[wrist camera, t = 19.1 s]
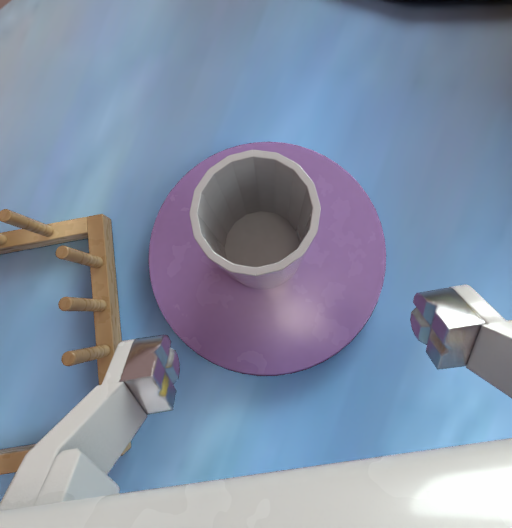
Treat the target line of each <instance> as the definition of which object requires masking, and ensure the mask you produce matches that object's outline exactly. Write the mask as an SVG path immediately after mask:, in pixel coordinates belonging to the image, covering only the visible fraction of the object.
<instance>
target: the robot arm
mask: <svg viewBox="0 0 512 528" xmlns="http://www.w3.org/2000/svg"><path fill="white" fill-rule="evenodd" d="M413 303H414V304H415V306H416V308H415V309H414V310H413V311H412V312H411V319H410V321H411V326H412V330H413V332H414V334H415V336H416V338H417V339H418V341H420V342H422V343H424V344H425V345H427V348H426V353H427V355H428V356H429V358H430V359H431V361H432V362H433V364H434V365H435V367H436V368H437V370H438V369H446V368H454V367H462V366H466V368H468V369H469V370H471V371H472V372H474V373H475V374H477V375H478V376H480V377H481V378H482V379H484V380H485V381H487V382H488V383H490V384H491V385H493V386H494V387H496V388H497V389H499V390H500V391H502V392H503V393H505V394H506V395H508V396H509V397H511V398H512V320H508V321H506V320H505V319H504V318H503V317H502V316H501V315H500V314H499V313H498V312H497V311H496V310H495V309H493V308H492V307H491V306H490V305H489V304H488V303H487V302H486V301H485V300H484V299H483V298H482V297H481V296H480V295H479V294H478V293H477V292H476V291H475V290H474V289H473V288H472V287H470V286H468V285H466V284H465V285H460V286H454V287H449V288H443V289H437V290H431V291H425V292H420V293H416V295H415V296H414V300H413ZM170 345H171V341H170V339H169V337H168V335H159V336H152V337H145V338H138V339H133V340H125V341H121V342H120V343H119V344H118V345H117V348H116V350H115V353H114V355H113V358H112V360H111V362H110V365H109V367H108V370H107V372H106V375H105V377H104V380H103V382H102V385H98V386H96V387H95V388H94V389H93V390H92V391H91V392H90V393H89V394H88V395H87V396H86V397H85V398H84V399H83V400H82V401H81V402H80V403H78V404H77V405H76V406H75V407H74V408H73V409H72V410H71V411H70V412H69V413H68V414H67V415H66V416H65V417H64V418H63V419H62V420H61V421H60V422H59V423H58V424H57V425H56V426H55V427H54V428H53V429H52V430H50V431H49V432H48V433H47V434H46V435H45V436H44V437H43V438H42V439H41V440H40V441H39V442H38V443H37V444H36V445H35V446H34V447H33V448H32V449H31V450H30V451H29V452H28V453H27V454H26V455H25V457H24V459H23V460H22V462H21V464H20V466H19V468H18V470H17V472H16V474H15V476H14V478H13V480H12V481H11V483H10V485H9V487H8V489H7V491H6V493H5V495H4V497H3V499H2V501H1V502H0V528H512V438H508V439H501V440H494V441H487V442H480V443H473V444H466V445H459V446H452V447H445V448H438V449H431V450H423V451H416V452H409V453H402V454H395V455H388V456H381V457H374V458H367V459H360V460H353V461H346V462H339V463H332V464H324V465H317V466H310V467H303V468H296V469H289V470H282V471H275V472H268V473H261V474H254V475H247V476H240V477H233V478H226V479H219V480H212V481H205V482H197V483H190V484H183V485H176V486H169V487H162V488H155V489H148V490H141V491H134V492H127V493H120V494H119V491H120V488H119V486H118V484H117V483H115V482H114V481H113V480H112V479H111V478H110V477H109V476H108V475H107V474H108V473H109V472H110V470H111V469H112V467H113V466H114V464H115V463H116V461H117V460H118V458H119V457H120V456H121V454H122V453H123V451H124V450H125V448H126V447H127V445H128V444H129V442H130V441H131V440H132V438H133V437H134V435H135V434H136V432H137V431H138V429H139V428H140V427H141V425H142V424H143V422H144V421H145V419H146V418H147V415H149V414H154V413H160V412H165V411H171V410H173V408H174V402H175V396H176V389H175V387H174V383H175V382H176V381H177V380H178V379H179V372H180V365H179V358H178V355H177V353H176V351H175V350H174V349H172V348H170Z"/></svg>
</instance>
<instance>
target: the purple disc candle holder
mask: <svg viewBox="0 0 512 528" xmlns="http://www.w3.org/2000/svg"><path fill="white" fill-rule="evenodd" d="M249 150H261V151H269V152H276V153H279V154H281V155H283V156H284V157H286V158H288V159H290V160H292V161H294V162H295V163H297V164H299V165H300V166H301V168H302V169H303V170H304V171H305V173H306V174H307V175H308V176H309V177H310V179H311V180H312V181H313V182H314V184H315V187H316V191H317V195H318V198H319V202H320V205H321V212H320V219H319V225H318V232H317V234H316V236H315V238H314V240H313V242H312V244H311V246H310V248H309V250H308V252H307V254H306V256H305V258H304V260H303V262H302V263H301V265H300V267H299V268H298V270H297V272H296V273H295V275H294V276H293V277H292V278H291V279H289V280H288V281H287V282H286V283H284V284H282V285H280V286H278V287H275V288H272V289H266V290H259V289H253V288H249V287H246V286H244V285H242V284H240V283H239V282H238V281H236V280H234V279H233V278H232V277H230V276H229V275H228V274H227V273H226V272H224V271H223V270H222V269H221V268H220V267H218V266H217V265H216V264H215V263H213V262H212V261H211V260H210V259H209V258H208V257H207V256H206V254H205V253H204V252H203V250H202V249H201V247H200V246H199V244H198V243H197V241H196V240H195V238H194V235H193V230H192V225H191V220H190V215H189V214H190V208H191V203H192V199H193V194H194V190H195V188H196V187H197V185H198V184H199V182H200V181H201V179H202V178H203V176H204V175H205V173H206V172H207V170H209V169H210V168H211V167H212V166H214V165H215V164H217V163H218V162H220V161H221V160H223V159H224V158H226V157H227V156H229V155H232V154H236V153H240V152H245V151H249ZM385 269H386V248H385V239H384V234H383V230H382V226H381V222H380V220H379V217H378V215H377V212H376V209H375V208H374V206H373V204H372V202H371V200H370V198H369V197H368V195H367V194H366V192H365V191H364V190H363V188H362V187H361V186H360V184H359V183H358V182H357V181H356V180H355V179H354V178H353V177H352V176H351V175H350V174H349V173H348V172H347V171H346V170H344V169H343V168H342V167H341V166H340V165H338V164H337V163H335V162H334V161H332V160H331V159H329V158H327V157H326V156H324V155H322V154H319V153H317V152H315V151H313V150H310V149H307V148H304V147H301V146H298V145H293V144H287V143H279V142H257V143H249V144H244V145H239V146H236V147H232V148H229V149H226V150H223V151H221V152H219V153H217V154H214V155H212V156H211V157H209V158H207V159H206V160H204V161H202V162H201V163H199V164H198V165H197V166H195V167H194V168H193V169H191V170H190V171H189V172H188V173H187V174H186V175H185V176H184V177H183V178H182V179H181V180H180V181H179V182H178V183H177V184H176V185H175V187H174V188H173V189H172V190H171V192H170V193H169V195H168V196H167V198H166V200H165V201H164V203H163V204H162V206H161V209H160V211H159V213H158V215H157V217H156V220H155V223H154V227H153V230H152V233H151V239H150V245H149V273H150V280H151V284H152V289H153V293H154V295H155V298H156V301H157V303H158V306H159V308H160V310H161V312H162V314H163V315H164V317H165V319H166V321H167V322H168V324H169V325H170V326H171V328H172V329H173V331H174V332H175V333H176V334H177V335H178V336H179V338H180V339H181V340H182V341H183V342H184V343H185V344H186V345H187V346H188V347H190V348H191V349H192V350H193V351H195V352H196V353H197V354H198V355H200V356H201V357H203V358H205V359H207V360H208V361H210V362H212V363H213V364H216V365H218V366H220V367H223V368H225V369H227V370H231V371H235V372H238V373H242V374H248V375H256V376H279V375H285V374H292V373H296V372H299V371H303V370H306V369H309V368H311V367H314V366H316V365H318V364H320V363H322V362H324V361H326V360H328V359H329V358H331V357H332V356H334V355H335V354H337V353H338V352H340V351H341V350H342V349H343V348H344V347H345V346H347V345H348V344H349V343H350V342H351V341H352V340H353V339H354V338H355V337H356V335H357V334H358V333H359V332H360V331H361V330H362V328H363V327H364V325H365V324H366V322H367V321H368V319H369V318H370V316H371V314H372V312H373V310H374V308H375V306H376V304H377V301H378V298H379V295H380V292H381V289H382V286H383V281H384V276H385Z"/></svg>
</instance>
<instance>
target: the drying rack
mask: <svg viewBox="0 0 512 528" xmlns="http://www.w3.org/2000/svg"><path fill="white" fill-rule="evenodd" d="M0 221H1V222H4V223H7V224H10V225H13V226H16V227H19V228H22V229H19V230H14V231H8V232H3V233H0V254H5V253H11V252H16V251H21V250H27V249H32V248H38V247H43V246H49V245H54V244H59V243H65V242H70V241H76V240H81V239H86V238H88V243H89V253H86V252H82V251H79V250H76V249H73V248H70V247H67V246H60V247H58V248H57V250H56V256H57V257H58V258H59V259H62V260H66V261H70V262H74V263H78V264H82V265H86V266H90V270H91V283H92V297H93V299H88V298H76V297H63V298H62V299H61V300H60V301H59V304H58V305H59V308H60V309H61V310H62V311H92V312H94V324H95V337H96V346H94V347H89V348H83V349H78V350H72V351H67V352H65V353H64V354H63V356H62V363H63V364H64V365H65V366H72V365H76V364H80V363H84V362H88V361H92V360H96V359H97V364H98V378H99V385H102V382H103V380H104V377H105V375H106V372H107V370H108V367H109V365H110V362H111V360H112V358H113V355H114V353H115V350H116V348H117V345H118V344H119V343H120V342H121V341H122V338H121V327H120V316H119V305H118V293H117V282H116V271H115V259H114V248H113V237H112V226H111V219H110V218H108V217H107V216H105V215H103V214H99V215H94V216H89V217H83V218H78V219H72V220H67V221H62V222H56V223H51V224H44V223H41V222H39V221H36V220H33V219H31V218H28V217H26V216H23V215H21V214H18V213H16V212H13V211H10V210H8V209H4V210H2V211H0ZM35 445H36V444H32V445H25V446H19V447H13V448H7V449H0V475H1V474H8V473H14V472H17V470H18V468H19V466H20V464H21V462H22V460H23V459H24V457H25V455H26V454H27V453H28V452H29V451H30V450H31V449H32V448H33V447H34V446H35ZM130 448H131V441H130V442H129V444H128V445H127V447H126V448H125V450H124V451H123V453H122V454H121V456H122V455H123V454H125V453H126V452H127V451H128V450H129V449H130Z"/></svg>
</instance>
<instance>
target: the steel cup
mask: <svg viewBox="0 0 512 528" xmlns="http://www.w3.org/2000/svg"><path fill="white" fill-rule="evenodd" d="M320 212H321V205H320V202H319V198H318V195H317V191H316V187H315V184H314V182H313V181H312V180H311V179H310V177H309V176H308V175H307V174H306V173H305V171H304V170H303V169H302V168H301V166H300V165H299V164H297V163H295V162H294V161H292V160H290V159H288V158H286V157H284V156H283V155H281V154H279V153H276V152H269V151H261V150H249V151H245V152H240V153H236V154H232V155H229V156H227V157H226V158H224V159H223V160H221V161H220V162H218V163H217V164H215V165H214V166H212V167H211V168H210V169H209V170H207V172H206V173H205V175H204V176H203V178H202V179H201V181H200V182H199V184H198V185H197V187H196V188H195V190H194V194H193V199H192V203H191V208H190V214H189V215H190V220H191V225H192V230H193V235H194V238H195V240H196V241H197V243H198V244H199V246H200V247H201V249H202V250H203V252H204V253H205V254H206V256H207V257H208V258H209V259H210V260H211V261H212V262H213V263H215V264H216V265H217V266H218V267H220V268H221V269H222V270H223V271H224V272H226V273H227V274H228V275H229V276H230V277H232V278H233V279H234V280H236V281H238V282H239V283H240V284H242V285H244V286H246V287H249V288H253V289H259V290H266V289H272V288H275V287H278V286H280V285H282V284H284V283H286V282H287V281H288V280H289V279H291V278H292V277H293V276H294V275H295V273H296V272H297V270H298V268H299V267H300V265H301V263H302V262H303V260H304V258H305V256H306V254H307V252H308V250H309V248H310V246H311V244H312V242H313V240H314V238H315V236H316V234H317V232H318V225H319V219H320Z"/></svg>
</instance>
